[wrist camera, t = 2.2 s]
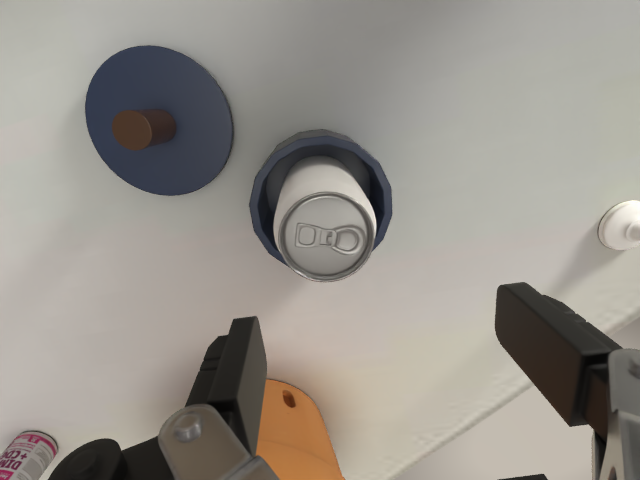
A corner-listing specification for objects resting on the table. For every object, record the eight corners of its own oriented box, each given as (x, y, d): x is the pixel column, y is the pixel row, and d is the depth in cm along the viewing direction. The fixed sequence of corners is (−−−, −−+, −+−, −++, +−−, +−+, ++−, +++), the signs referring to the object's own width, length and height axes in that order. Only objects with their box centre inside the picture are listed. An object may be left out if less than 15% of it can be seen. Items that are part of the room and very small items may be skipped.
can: (348, 228, 33) (371, 293, 22) (279, 221, 33) (266, 283, 21) (360, 158, 31) (392, 191, 20) (285, 149, 30) (274, 177, 19)
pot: (250, 137, 30) (237, 146, 24) (372, 123, 30) (389, 128, 24) (270, 250, 34) (263, 280, 28) (378, 237, 34) (394, 265, 28)
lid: (71, 57, 27) (10, 44, 22) (218, 39, 27) (196, 22, 22) (118, 199, 31) (77, 221, 26) (246, 184, 31) (233, 202, 26)
